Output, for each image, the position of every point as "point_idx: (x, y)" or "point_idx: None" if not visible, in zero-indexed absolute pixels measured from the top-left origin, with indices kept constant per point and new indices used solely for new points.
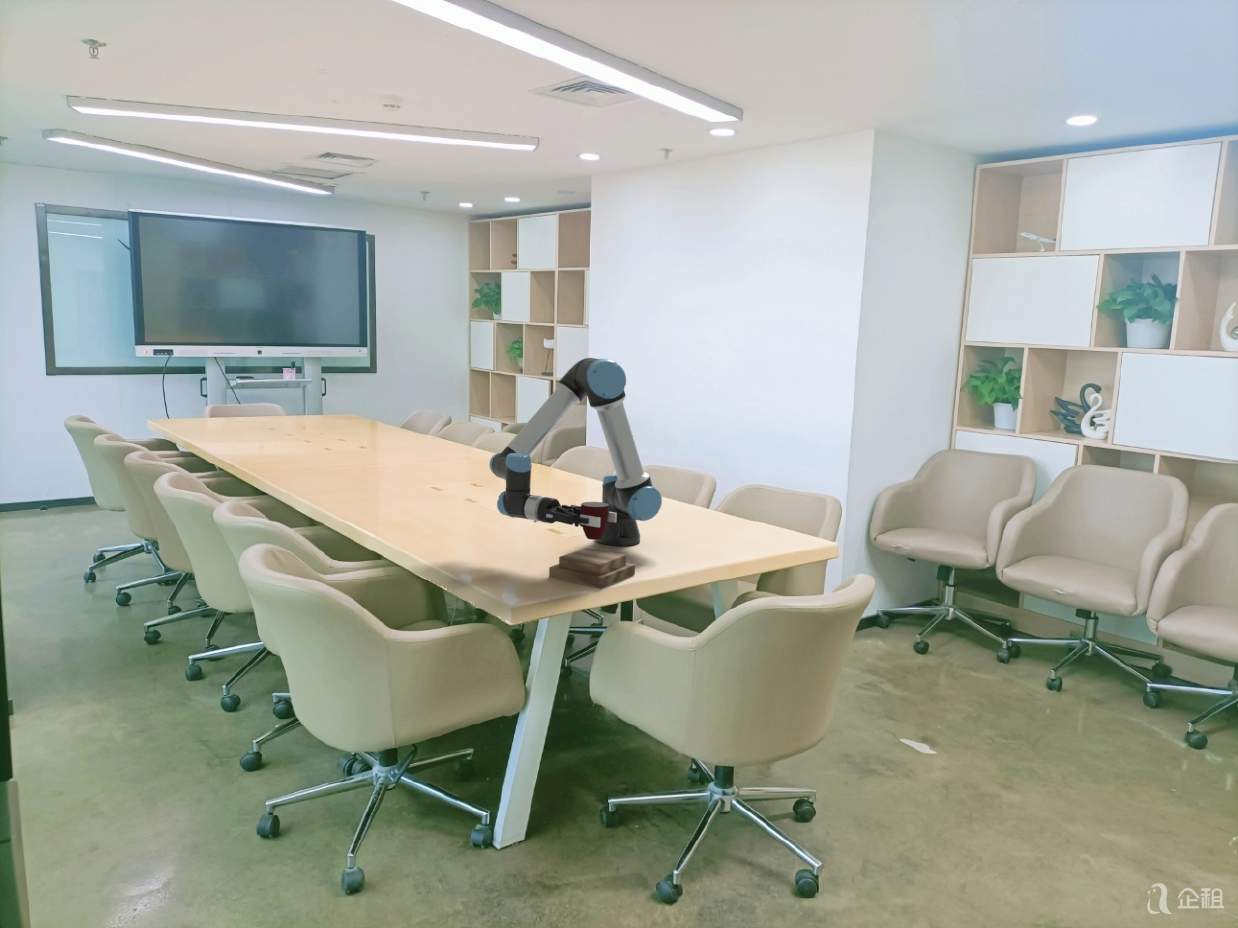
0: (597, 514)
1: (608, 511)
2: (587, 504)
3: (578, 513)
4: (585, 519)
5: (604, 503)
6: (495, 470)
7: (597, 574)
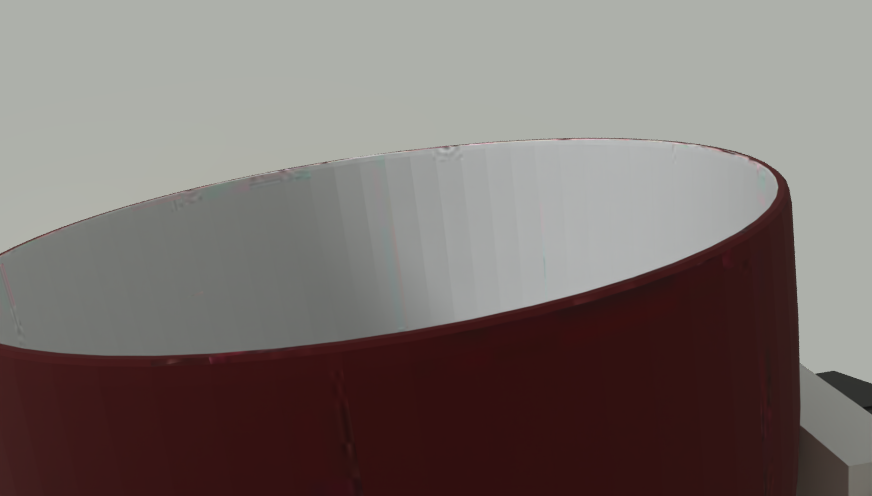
0: (586, 286)
1: (300, 282)
2: (182, 458)
3: None
4: (866, 392)
5: (30, 258)
6: None
7: None
